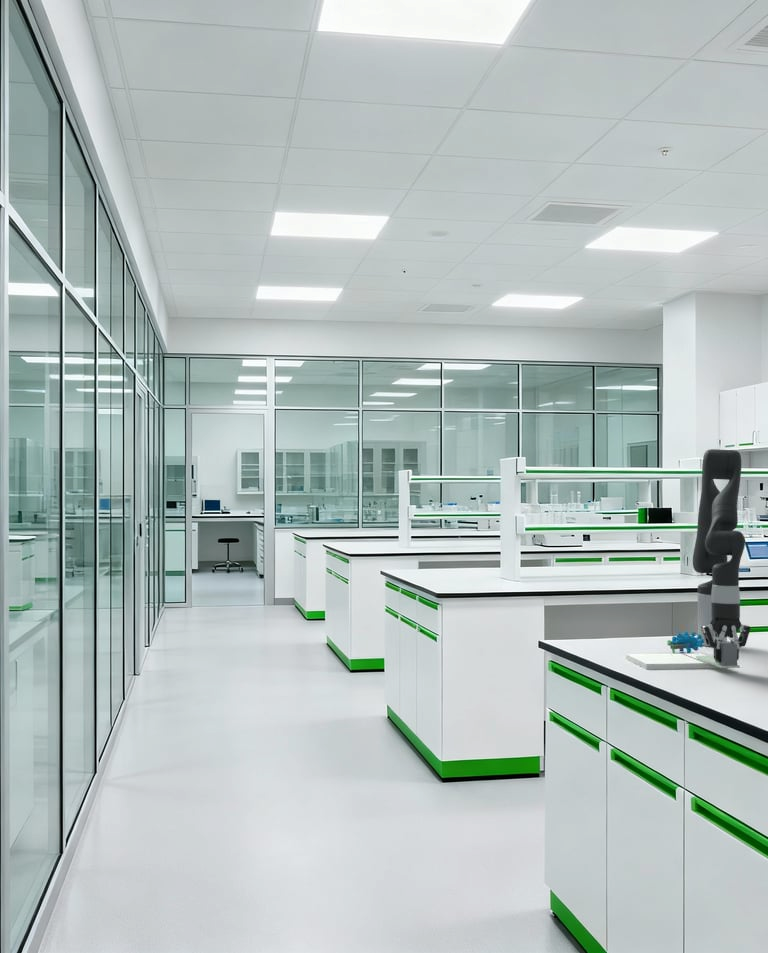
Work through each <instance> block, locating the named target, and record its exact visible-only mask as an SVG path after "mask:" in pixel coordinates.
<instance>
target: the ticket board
mask: <svg viewBox="0 0 768 953" xmlns="http://www.w3.org/2000/svg"><path fill="white" fill-rule="evenodd" d="M696 656H708V655H707V654H704V653H701V652H700V653H699V652H697V653H693V652H692V653H691V652H690V653H689V654H687V653H683V652H681V653H675V654H673V653H637V654H636V653H626V655H625V659H626V660H627V661H628V662H631V663H633V664H634V665H637V666H639V667H642V668H643V669H645V670H678V669H679V670H682V669H683V670H684V669H687V670H688V669H691V670H694V669H695V670H696V669H700V670H701V669H721V668H720V667H717V666H715V665H712V664H710V663H708V662H705V661H703V660H700V659H698V658H696Z"/></svg>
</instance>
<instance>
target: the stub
mask: <svg viewBox="0 0 768 953" xmlns="http://www.w3.org/2000/svg"><path fill="white" fill-rule="evenodd" d="M720 649H721V662H716V660H715V659H714V655H707V656H696V658H698V659H700V660H703V661H705V662H708V663H710V664H712V665H715V666H717V667H720V668H719V669H739V668H741V665H739V664H738V660H737V644H735V643H732V642H730V640H727V641H722V644H721V648H720Z"/></svg>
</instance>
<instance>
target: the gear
mask: <svg viewBox="0 0 768 953" xmlns="http://www.w3.org/2000/svg"><path fill="white" fill-rule="evenodd" d="M690 634H691V635H690ZM690 634H689V632H688V631H687V630H686V631H683V634H682V633H681V632H677V633H676V634H675V635H676V636H674V635H673V636H672V637H671V639H672V640H670V639H668V640H667V646H670V649H671V651H672V652H671V654H676V650H678V649H679V652H681V653H683V652H684V651H685V649H686V654H689V653H691V652H692V650H694V651H698V650H699V648H703V647H704V645H703V644H702V643H704V639H703V638H702V636H701V635H699V634H698V633H696V631H691V633H690ZM696 634H697V636H696ZM695 636H696V637H695ZM701 638H702V639H701ZM699 639H700V640H699ZM698 643H699V644H698Z"/></svg>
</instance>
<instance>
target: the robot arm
mask: <svg viewBox="0 0 768 953" xmlns="http://www.w3.org/2000/svg"><path fill="white" fill-rule="evenodd" d="M741 456H742V455H741V453H740V452H739V450H735V449H718V448H717V449H715V448H712V449H711V448H710V449H707V450H705V452H704V454H703V457H702V464H701V465H702V468H701V491H700V500H699V506H698V513H697V514H698V515H697V528H696V530H697V531H696V538H695V541H694V542H695V543H694V549H693V555H692V568H693V570H694V571H695V572H696V573H699V574H711V576H712V577H711V579H710V580H709V581H706V582H703V583H700V584H698V586H697V635H698V634H699V635H701V636H702V638H703V639H704V643H702V644H703V647H711V648H712V649H713V656H714V659H715V660H716V662H721V649H720V648H721V644H722V641H729V642H732V643H735V644H737V661H739V657H740V655H739V652H740V650H739V649H740V648H742V647H745V646H746V645H747V641H748V638H749V635H750V632H751V630H752V629H751V626H749V625H747V624H742V622H741V620H740V619H741V593H740V592H741V591H740V585H739V584H740V581H739V577H740V576H739V575H740V574H739V572H740V566H741V565H740V564H741V560H742V557H743V553H744V551H745V547H746V538H745V535H744V534H743V533H742V532H741V531H739V530H735V529H736V528H737V526H738V524H739V523H738V502H739V501H738V499H739V492H740V485H741V475H742V474H741V473H742V457H741ZM714 480H725V481H728V482H727V484H726V485H725V486H724V488H723V489H722V490H721V491H720V490H719V489H718V487H717V486H716V483H715V481H714ZM728 556H731V558H730V560H728ZM738 631H739V637H738ZM702 638H701V639H702ZM699 640H700V639H699ZM698 644H699V643H698Z"/></svg>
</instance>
